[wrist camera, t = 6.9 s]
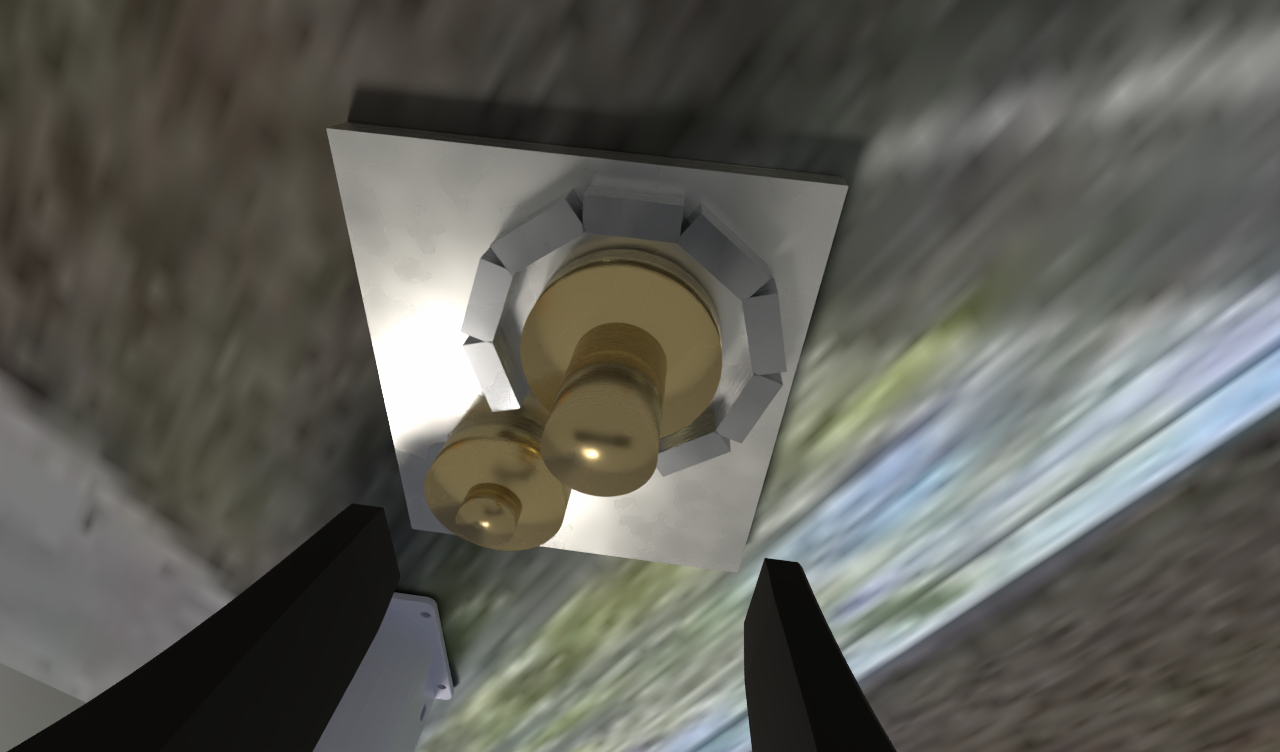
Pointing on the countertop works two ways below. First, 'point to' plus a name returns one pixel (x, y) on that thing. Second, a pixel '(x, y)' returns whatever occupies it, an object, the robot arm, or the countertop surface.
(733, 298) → the carrier
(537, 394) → the flanged cylinder knob
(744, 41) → the countertop surface
